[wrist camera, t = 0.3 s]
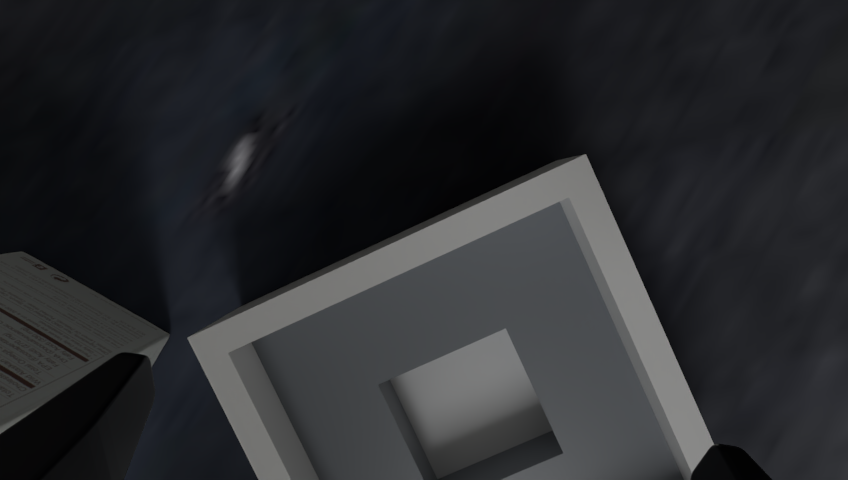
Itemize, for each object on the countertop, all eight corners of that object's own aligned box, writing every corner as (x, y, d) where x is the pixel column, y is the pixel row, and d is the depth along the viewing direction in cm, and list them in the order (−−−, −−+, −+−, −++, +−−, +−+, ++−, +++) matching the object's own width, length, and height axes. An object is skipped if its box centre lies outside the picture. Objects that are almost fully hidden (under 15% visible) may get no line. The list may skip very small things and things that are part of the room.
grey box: (695, 473, 24) (760, 549, 19) (386, 600, 25) (371, 703, 20) (556, 160, 23) (585, 154, 18) (240, 306, 24) (187, 337, 19)
